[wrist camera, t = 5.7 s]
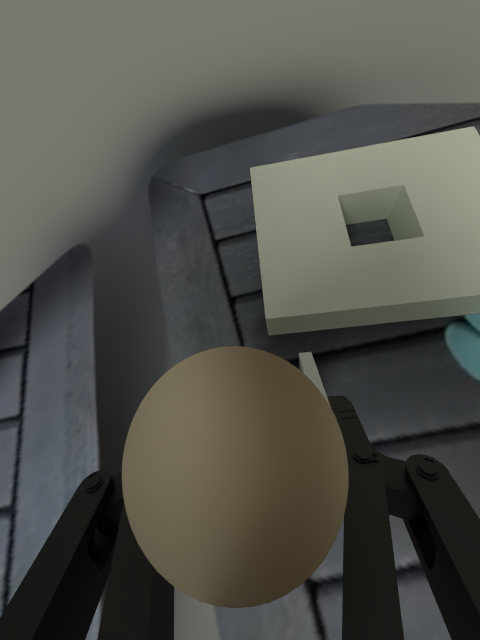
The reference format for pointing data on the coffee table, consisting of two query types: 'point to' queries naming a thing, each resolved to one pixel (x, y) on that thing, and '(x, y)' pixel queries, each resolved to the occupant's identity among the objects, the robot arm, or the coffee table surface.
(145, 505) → the tan wooden cylinder
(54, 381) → the coffee table surface
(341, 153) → the sage board
